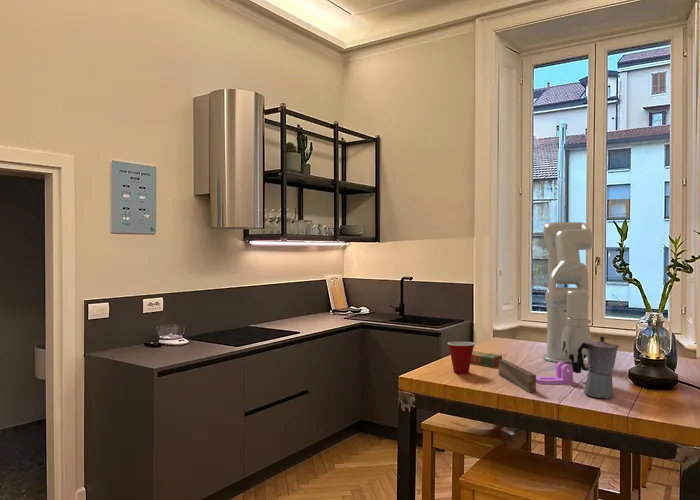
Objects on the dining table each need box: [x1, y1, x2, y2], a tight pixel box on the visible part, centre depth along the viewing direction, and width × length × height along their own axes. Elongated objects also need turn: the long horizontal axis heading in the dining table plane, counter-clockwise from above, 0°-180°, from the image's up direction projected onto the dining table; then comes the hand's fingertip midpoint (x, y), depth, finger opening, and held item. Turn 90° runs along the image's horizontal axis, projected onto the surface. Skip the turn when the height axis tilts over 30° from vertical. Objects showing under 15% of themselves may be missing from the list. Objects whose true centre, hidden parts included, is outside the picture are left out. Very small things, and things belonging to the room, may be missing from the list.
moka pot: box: [578, 336, 620, 400], centre depth 181 cm, size 10×15×20 cm, turn 106°
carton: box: [470, 350, 503, 368], centre depth 229 cm, size 8×16×4 cm, turn 48°
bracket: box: [536, 362, 574, 385], centre depth 199 cm, size 13×6×7 cm, turn 95°
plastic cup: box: [447, 341, 476, 375], centre depth 213 cm, size 11×11×12 cm
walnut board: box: [498, 359, 537, 394], centre depth 196 cm, size 2×24×6 cm, turn 9°
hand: (576, 372), depth 200 cm, fingers closed
